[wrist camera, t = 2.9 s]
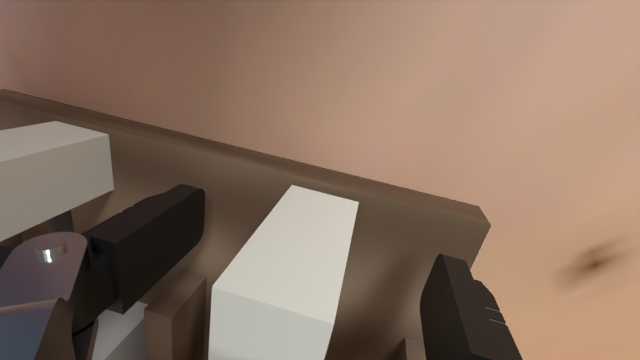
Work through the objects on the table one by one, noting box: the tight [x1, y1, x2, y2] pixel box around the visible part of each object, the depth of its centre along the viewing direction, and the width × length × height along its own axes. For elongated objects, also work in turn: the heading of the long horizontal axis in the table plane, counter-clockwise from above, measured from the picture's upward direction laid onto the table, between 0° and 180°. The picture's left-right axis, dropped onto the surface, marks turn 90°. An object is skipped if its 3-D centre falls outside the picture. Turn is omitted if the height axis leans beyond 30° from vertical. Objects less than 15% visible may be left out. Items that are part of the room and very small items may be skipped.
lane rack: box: [0, 89, 491, 360], centre depth 14 cm, size 15×22×4 cm
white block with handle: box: [0, 121, 148, 360], centre depth 13 cm, size 14×6×6 cm, turn 169°
